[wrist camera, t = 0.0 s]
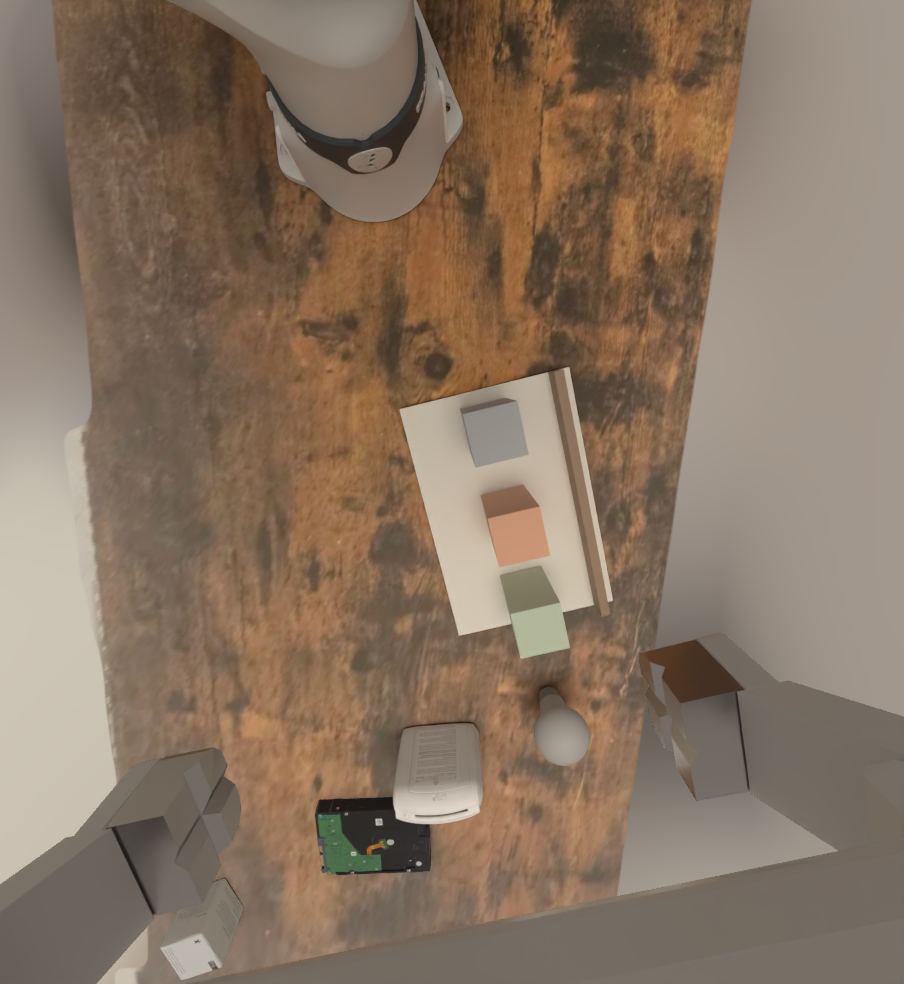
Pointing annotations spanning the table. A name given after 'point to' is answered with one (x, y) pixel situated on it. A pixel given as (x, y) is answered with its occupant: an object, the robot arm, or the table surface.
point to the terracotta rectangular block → (515, 526)
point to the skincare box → (203, 932)
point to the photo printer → (438, 774)
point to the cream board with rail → (544, 472)
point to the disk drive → (369, 838)
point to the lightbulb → (560, 730)
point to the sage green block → (534, 612)
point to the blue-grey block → (494, 431)
